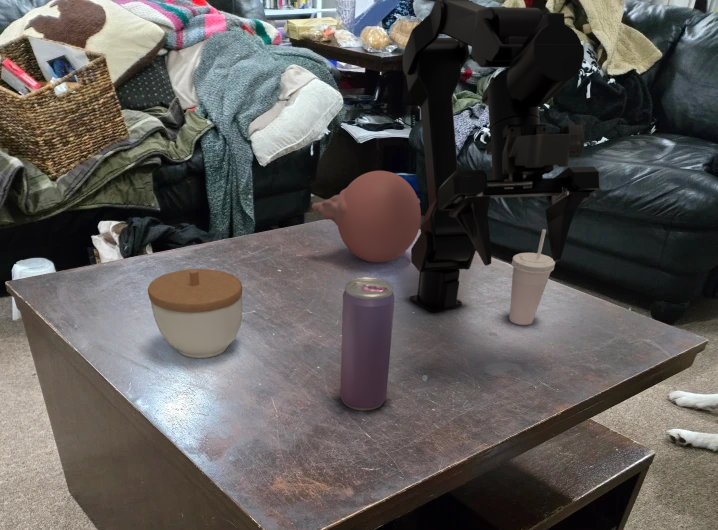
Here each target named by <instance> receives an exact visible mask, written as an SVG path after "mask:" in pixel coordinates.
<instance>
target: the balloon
mask: <svg viewBox="0 0 718 530" xmlns="http://www.w3.org/2000/svg"><path fill="white" fill-rule="evenodd" d="M311 209H312V210H314V211H318V212H319V215H320V216H322V218H323V219H324V220H326V221H327V220H330V221H332V222H333V223H335V225H336V226H337V228H338V233H339V236H340V238H341V240H342V242H343V243H344V245H345V247H346V248H347V249H348V250H349V252H351V253H352V254H353V255H355V256H356V257H358V258H359V259H361V260H363V261H366V262H371V263H385V262H390V261H392V260H395V259H397V258H399V257H400V256H402V255H403V254H404V253H405V252H407V251H408V250H409V249H410V247H411V246H413V245H412V244H413V243H415V241H416V239H417V236H418V233H419V231H420V228H421V223H422V222H421V221H422V210H421V203H420V200H419V197H418V195H417V194H416V191H415V190H414V188H413V187H412V185H411V184H410V183H409V182H408V181H407V180H406V179H404V177H402V176H400V175H398V174H396V173H394V172H391V171H388V170H387V171H386V170H373V171H369V172H366V173H363V174H361V175H360V176H358V177H356V178H355V179H354V180H352V181H351V182H350V183H349V184H348V186H347V187H346V188H343V189H342V190H341V191H340V192H339V194H335V195H332V197H330V198H327V199H324V200H323V201H318V202H313V203H312V204H311Z"/></svg>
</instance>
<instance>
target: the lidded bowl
mask: <svg viewBox="0 0 718 530" xmlns="http://www.w3.org/2000/svg"><path fill="white" fill-rule="evenodd" d="M147 295H148V298H149V301H150V305H151V310H152V315H153V318H154V321H155V323H156V326H157V329H158V331H159V332H160V334H161V336H162V337H163V339H164V340H165V341H166V342H167V343H168V344H169V345H171V346H172V347H173V348H174V349H176V350H177V351H178V353H179V354H181V355H182V356H185V357H187V358H192V359H208V358H213V357H217V356H219V355H221V354H223V353H224V352H226V350H227V349H228V347H229V345H230V344H231V343H232V342H233V341H234V340H235V338H236V337H237V335H238V333H239V331H240V328H241V325H242V324H241V322H242V319H243V283H242V282H241V280H240V278H238V277H236V276H235V275H234V274H231V273H229V272H225V271H222V270H217V269H211V268H190V269H189V268H188V269H181V270H175V271H172V272H167V273H165V274H162V275H160V276H157V277H156V278H154V279H153V280H152V281H151V282H150V283H149V284H148V286H147Z"/></svg>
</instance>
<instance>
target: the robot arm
mask: <svg viewBox="0 0 718 530" xmlns="http://www.w3.org/2000/svg"><path fill="white" fill-rule="evenodd" d="M565 19H566V18H565V13H564V12H546V13H545V14H543V12H542V10H541V9H540V8H539V7H514V6H513V7H511V6H509V7H508V6H485V5H482V4H479V3H477V2H476V3H475V2H474V1H473V0H435V1H434V4H433V6H432V9H431V11H430V12H429V14H428V15H427V16H426V17H425V18H423V19H422V20H421V21H420V22H418V24H416V26H415V27H413V28H412V29H411V32H410V35H409V37H408V40H407V42H406V45H405V47H404V50H403V54H402V70H403V74H404V75H405V78H406V84H407V91H408V93H409V94H410V96H411V98H412V99H413V101H415V103H416V104H417V106H418V107H419V109H420V116H421V117H420V119H421V128H422V139H423V150H424V151H423V152H424V163H425V174H426V186H427V197H428V209H427V211H426V213H425V215H424V218H423V220H422V222H421V223H420V233H419V235H418V237H417V238H416V239H415V241H414V244H413V245H412V247H411V249H410V258H411V259H410V262H411V264H412V265H413V266H414V267H415V268H416V270H417V271H418V272H419V275H418V285H417V291H416V292H417V293H416V294H414V295H410V296H409V301H411V302H413V303H414V304H416V305H417V306H420V307H421V308H423V309H425V310H426V311H428V312H430V313H439V312H441V311H447V310H449V309H454V308H458V307H461V306H463V302H462V301H461V300H459V299H458V295H459V294H458V293H459V287H460V280H459V279H460V273H461V272H460V271H461V270H470V269H471V266H472V264H473V260H474V258H475V254H476V252H477V254H478V256H479V257H480V259H481V261H482V263H483V265H484V266H486V267H487V266H490V265H491V264H492V243H491V235H490V234H491V233H490V224H489V209H490V202H491V199H498V198H525V197H545V198H546V200H545V201H547V202H548V203H549V205H550V206H548V207H546V208H545V209H544V212H545V218H546V225H547V234H548V240H549V241H548V243H549V249H550V253H551V258H552V259H553V261H555V262H558V261H560V260H561V259H562V256H563V252H564V249H565V245H566V241H567V239H568V234H569V232H570V228H571V224H572V223H573V219H574V216H575V214H576V212H577V210H578V209H579V207H580V206H581V205H582V204H583V203H585V202H586V201H589V199H591V196H592V195H593V194H595V193H597V192H599V191H601V190H602V187H601V184H602V183H601V174H600V171H599V170H598V169H597V168H596V167H595V166H569V159H570V158H580V157H581V156H582V154H583V153H584V147H585V133H584V125H583V124H566V125H562V126H561V127H560V129H559V132H558V134H557V133H554V134H553V133H552V134H551V133H550V134H549V132H548V131H549V130H548V127H547V124H546V123H542V124H541V122H540V107H541V106H544V105H545V104H547V103H548V102H549V101H550V100H551V99H552V98H553V97H555V95H557V93H559V92H560V91H561V90H562V89H563V88H564V87H565V86H566V85H567V84H568V83H569V82H570V81H571V80H572V79H574V78H575V77H576V76H577V74H578V73H579V72H580V71H581V69H582V66H583V64H584V61H585V46H584V45H583V44H582V42H581V39H580V37H579V35H578V34H577V32H576V31H575V30H574V29H573V28H572V27H570V26H569V25H568V24H566V20H565ZM440 35H445V36H447V37H439V36H440ZM470 47H471V50H470ZM469 56H471V57H472V59H473V60H474V61H475V62H476V63H477V65H478V66H479V67H480V68H483V69H485V68H486V69H487V68H492V69H493V68H506V69H503V70H501V71H500V72H498V73H497V74H496V75H495V76H492V77H490V79H489V83H488V85H487V87H486V88H485V90H484V91H483V93H482V97H481V103H482V104H487V107H488V108H487V109H488V122H489V135H490V136H489V140H490V141H489V142H488V143H487V145H485V151H486V156H489V155H490V156H491V166H492V167H491V168H492V177H491V178H490V179H488V174H487V172H485V170H484V169H468V170H467V169H462V170H461V169H460V170H459V169H458V167H459V166H458V156H457V155H458V154H457V142H456V130H455V118H454V117H455V116H454V106H453V105H454V104H453V96H454V93H455V91H456V89H457V87H458V85H459V83H460V80H461V78H462V69H463V67H464V66H465V64H466V61H467V60H468V58H469ZM555 166H557V167H558V168H565V167H567V168H565V169H564V170H563V171H561V172H559V173H558V174H557V175H556V176H554V177H544V175H546V174H550V173H551V172H553V171H554V169H555V168H554V167H555Z"/></svg>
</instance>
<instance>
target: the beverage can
mask: <svg viewBox="0 0 718 530" xmlns="http://www.w3.org/2000/svg"><path fill="white" fill-rule="evenodd" d="M395 299H396V298H395V293H394V286H393V284H392V283H391V282H389V281H387V280H385V279H383V278H378V277H358V278H357V277H356V278H353V279H350V280H348V281H347V282H346V283H345V284H344V290H343V294H342V313H341V314H342V315H341V347H340V348H341V349H340V384H339V385H340V386H339V397H340V399H341V401H342V402H343V404H344V405H345V406H346V407H348V408H350V409H353V410H355V411H362V412H366V411H368V412H369V411H373V410H376V409H379V408H380V407H381V406H383V404H384V403H385V402H386V400H387V395H388V383H389V372H390V371H389V370H390V369H389V368H390V359H391V345H392V334H393V321H394V309H395Z"/></svg>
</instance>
